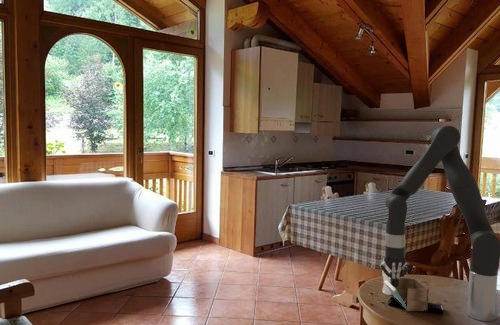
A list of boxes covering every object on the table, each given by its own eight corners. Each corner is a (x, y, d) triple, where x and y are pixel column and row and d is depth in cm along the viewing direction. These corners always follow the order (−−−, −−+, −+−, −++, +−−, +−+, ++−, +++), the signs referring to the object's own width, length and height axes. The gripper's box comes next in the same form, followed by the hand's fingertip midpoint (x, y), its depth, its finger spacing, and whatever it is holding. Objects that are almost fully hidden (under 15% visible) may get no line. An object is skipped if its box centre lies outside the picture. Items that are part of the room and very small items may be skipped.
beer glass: (395, 297, 174) (396, 262, 172) (378, 293, 178) (380, 259, 177) (400, 292, 179) (401, 259, 178) (384, 288, 183) (385, 255, 182)
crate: (413, 299, 173) (414, 278, 172) (427, 311, 161) (428, 289, 160) (394, 299, 172) (395, 278, 171) (407, 311, 160) (408, 289, 160)
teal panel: (397, 297, 171) (386, 279, 170) (408, 308, 161) (396, 289, 160) (395, 299, 171) (383, 281, 170) (405, 309, 161) (393, 291, 160)
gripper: (382, 247, 160) (381, 291, 161) (415, 246, 161) (414, 290, 162) (375, 242, 167) (374, 283, 169) (407, 241, 168) (406, 283, 169)
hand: (394, 286), depth 165 cm, fingers closed
